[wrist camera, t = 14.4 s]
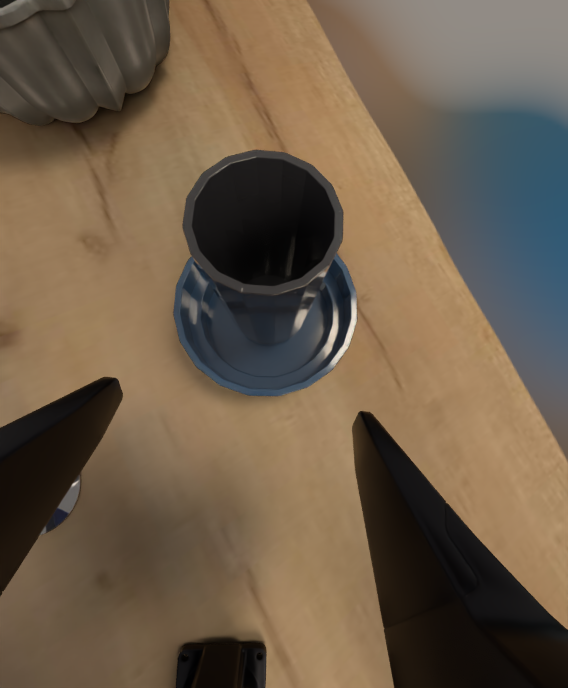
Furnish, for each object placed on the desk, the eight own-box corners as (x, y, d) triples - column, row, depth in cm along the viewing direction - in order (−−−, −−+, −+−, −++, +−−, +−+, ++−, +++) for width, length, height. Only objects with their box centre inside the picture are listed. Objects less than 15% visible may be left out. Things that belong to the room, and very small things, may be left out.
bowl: (342, 395, 22) (359, 397, 18) (186, 392, 22) (164, 393, 17) (340, 253, 25) (354, 224, 20) (199, 247, 24) (182, 216, 20)
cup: (315, 331, 23) (366, 266, 10) (245, 354, 22) (209, 315, 10) (291, 265, 24) (311, 134, 11) (223, 286, 23) (165, 171, 11)
